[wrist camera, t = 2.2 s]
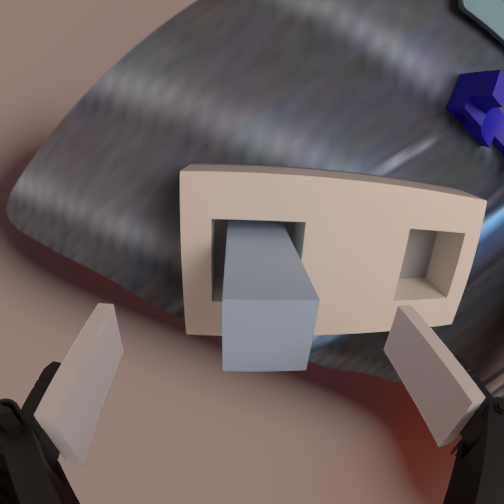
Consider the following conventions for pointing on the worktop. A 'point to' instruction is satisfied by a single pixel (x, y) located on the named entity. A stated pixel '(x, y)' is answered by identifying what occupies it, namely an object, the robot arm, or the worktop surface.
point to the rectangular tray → (486, 15)
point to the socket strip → (333, 241)
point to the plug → (265, 300)
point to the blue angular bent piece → (480, 106)
